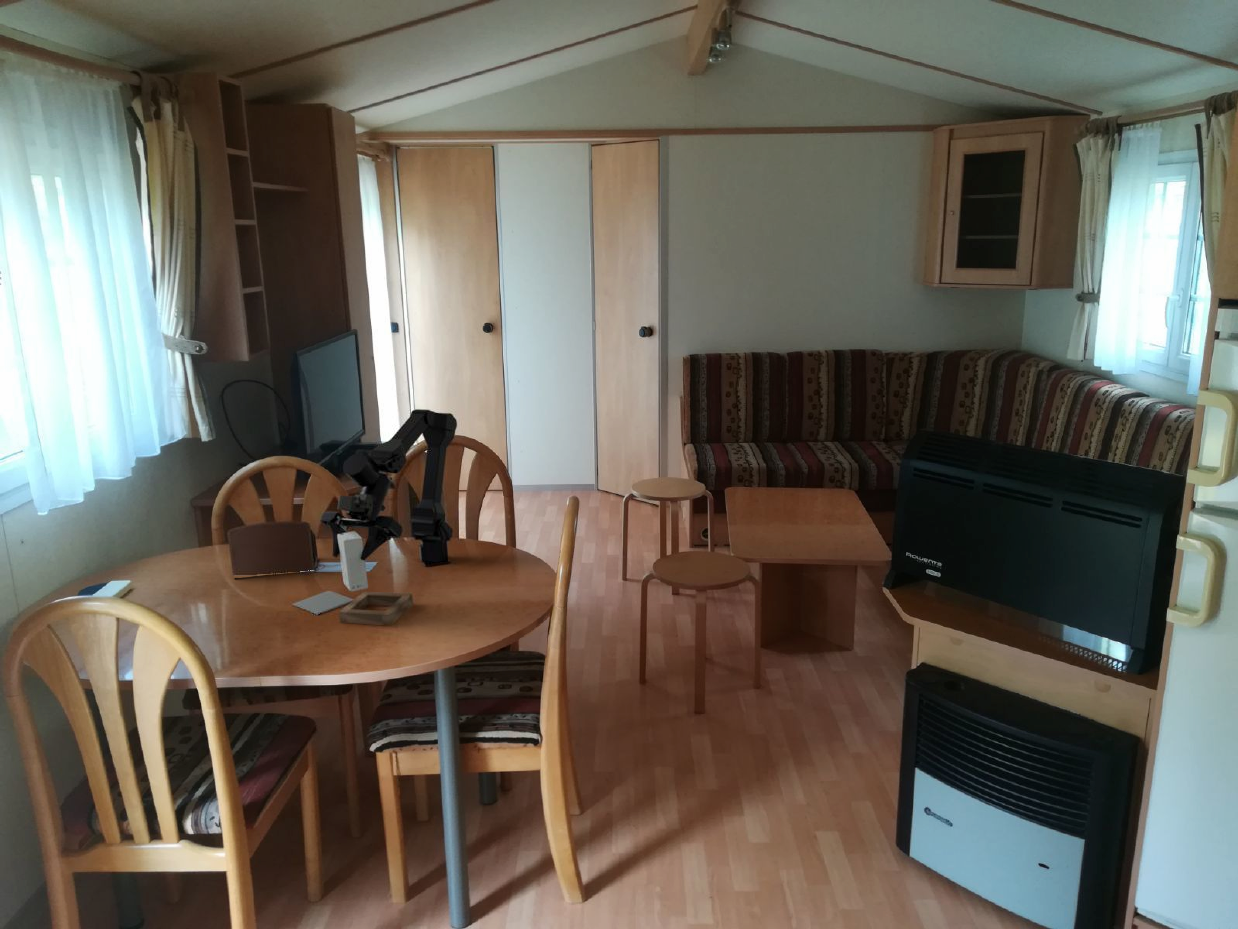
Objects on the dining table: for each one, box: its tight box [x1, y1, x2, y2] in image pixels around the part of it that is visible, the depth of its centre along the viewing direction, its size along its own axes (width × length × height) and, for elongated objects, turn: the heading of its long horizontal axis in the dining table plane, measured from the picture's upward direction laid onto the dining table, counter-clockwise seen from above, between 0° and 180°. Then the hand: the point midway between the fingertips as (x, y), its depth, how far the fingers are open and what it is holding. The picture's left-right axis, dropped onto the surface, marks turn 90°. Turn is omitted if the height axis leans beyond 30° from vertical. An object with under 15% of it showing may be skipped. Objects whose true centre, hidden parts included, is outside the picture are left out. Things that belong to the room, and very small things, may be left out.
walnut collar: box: [338, 591, 414, 626], centre depth 206 cm, size 12×12×2 cm
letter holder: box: [227, 520, 319, 576], centre depth 235 cm, size 10×20×14 cm, turn 103°
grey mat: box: [291, 590, 355, 616], centre depth 213 cm, size 10×10×1 cm
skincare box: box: [337, 530, 369, 592], centre depth 205 cm, size 6×4×12 cm
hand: (348, 558), depth 203 cm, fingers closed on skincare box, 7 cm apart
